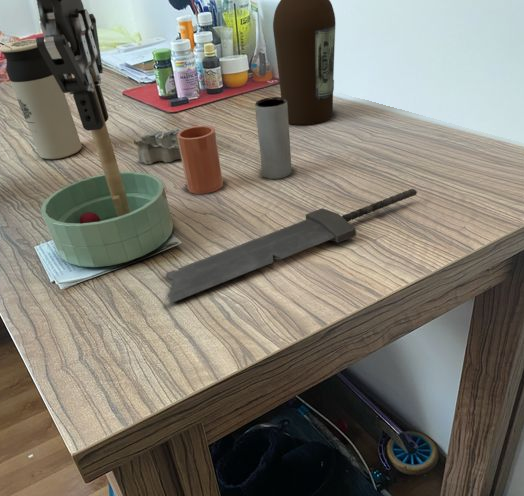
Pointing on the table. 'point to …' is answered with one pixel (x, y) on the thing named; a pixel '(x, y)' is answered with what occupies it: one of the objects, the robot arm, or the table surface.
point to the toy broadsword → (269, 248)
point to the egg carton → (158, 146)
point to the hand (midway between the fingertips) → (97, 124)
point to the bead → (89, 218)
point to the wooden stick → (110, 167)
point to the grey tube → (274, 137)
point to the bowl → (108, 220)
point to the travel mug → (41, 100)
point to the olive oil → (305, 58)
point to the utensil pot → (200, 159)
